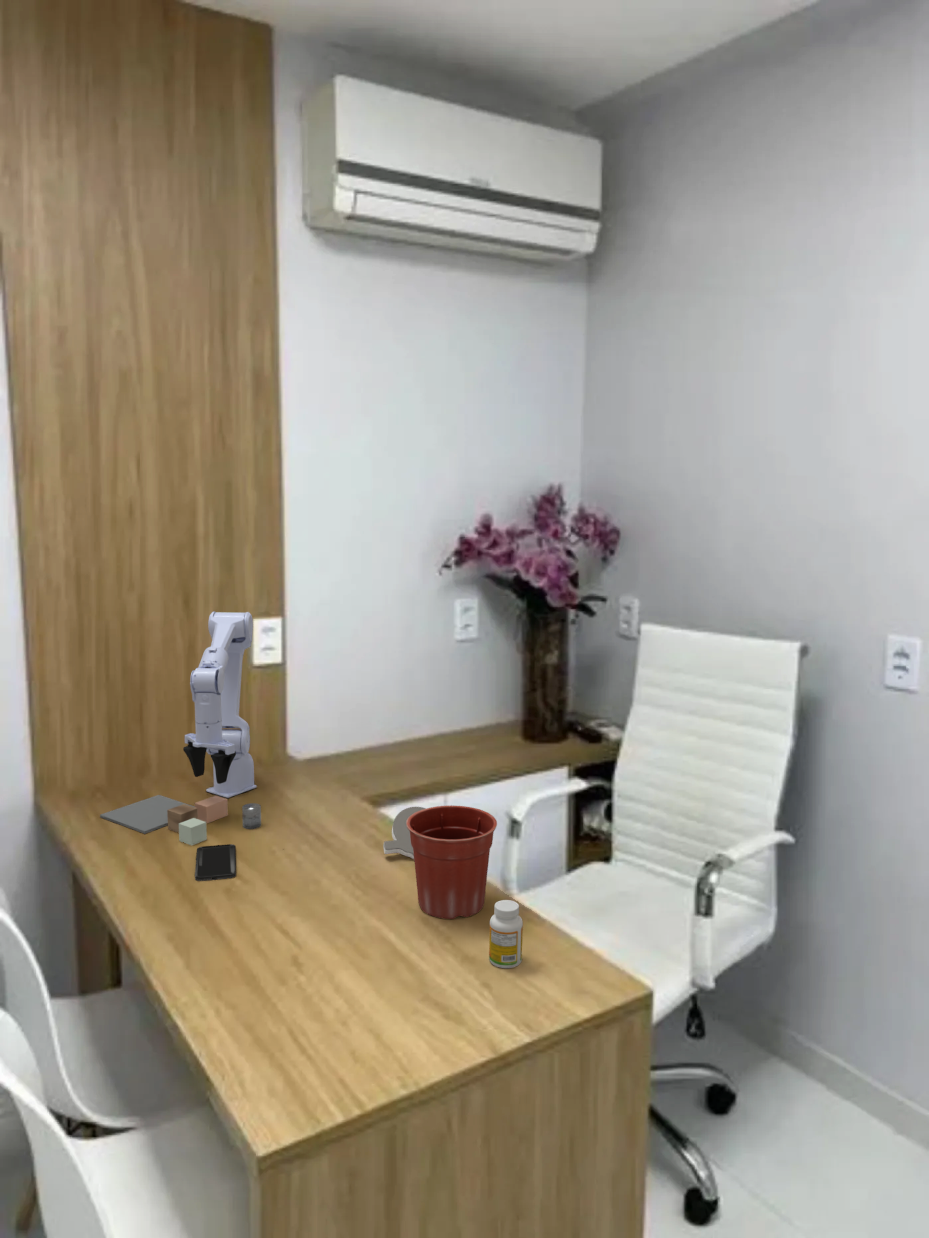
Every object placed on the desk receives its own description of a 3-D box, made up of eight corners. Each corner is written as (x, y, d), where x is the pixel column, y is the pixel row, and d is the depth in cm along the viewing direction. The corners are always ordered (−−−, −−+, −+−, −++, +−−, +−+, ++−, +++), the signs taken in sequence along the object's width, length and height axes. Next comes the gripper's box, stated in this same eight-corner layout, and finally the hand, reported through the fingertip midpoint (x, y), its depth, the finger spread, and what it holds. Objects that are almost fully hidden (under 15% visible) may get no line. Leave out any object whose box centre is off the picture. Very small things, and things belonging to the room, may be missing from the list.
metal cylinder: (252, 820, 211) (252, 801, 210) (264, 825, 209) (264, 805, 208) (238, 826, 207) (238, 807, 207) (251, 830, 205) (250, 811, 205)
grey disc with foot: (387, 861, 189) (381, 806, 193) (381, 866, 196) (375, 813, 200) (459, 853, 193) (452, 799, 197) (450, 859, 200) (443, 807, 204)
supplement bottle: (502, 948, 157) (503, 894, 156) (528, 959, 154) (529, 904, 152) (482, 961, 153) (483, 905, 151) (508, 973, 150) (510, 916, 148)
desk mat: (159, 797, 224) (158, 794, 224) (203, 811, 216) (203, 809, 215) (100, 817, 211) (99, 814, 211) (144, 833, 203) (144, 831, 202)
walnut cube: (184, 823, 209) (183, 803, 208) (198, 827, 207) (197, 808, 206) (168, 829, 205) (167, 809, 205) (181, 834, 203) (180, 814, 202)
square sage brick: (194, 835, 202) (193, 817, 202) (206, 839, 200) (206, 822, 200) (179, 841, 199) (178, 823, 198) (191, 845, 197) (191, 827, 196)
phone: (235, 843, 196) (236, 874, 182) (235, 848, 197) (236, 879, 182) (196, 846, 194) (194, 877, 180) (196, 852, 195) (194, 883, 180)
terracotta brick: (216, 812, 216) (215, 795, 215) (227, 815, 214) (227, 799, 213) (195, 819, 211) (194, 803, 211) (207, 823, 209) (206, 806, 208)
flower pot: (416, 931, 163) (417, 843, 160) (397, 889, 178) (398, 809, 175) (506, 920, 167) (508, 834, 164) (480, 880, 183) (482, 802, 180)
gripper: (172, 719, 210) (174, 777, 212) (216, 730, 201) (218, 790, 204) (197, 712, 215) (199, 769, 218) (241, 723, 207) (242, 781, 209)
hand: (210, 779), depth 211 cm, fingers open, 7 cm apart
